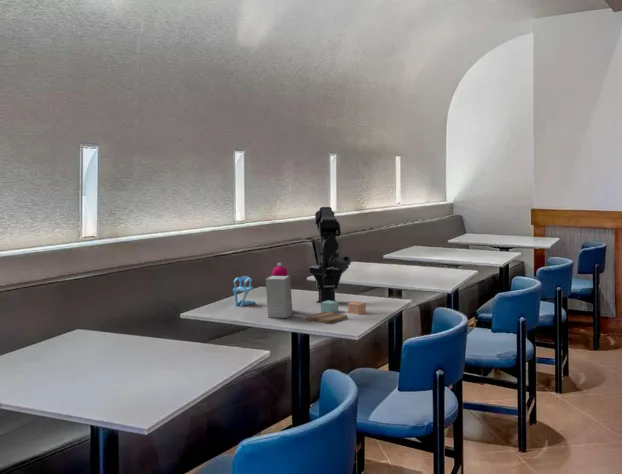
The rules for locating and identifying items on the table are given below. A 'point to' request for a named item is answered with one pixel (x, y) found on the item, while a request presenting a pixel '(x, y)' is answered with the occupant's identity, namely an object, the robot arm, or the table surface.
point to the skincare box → (279, 296)
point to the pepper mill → (279, 270)
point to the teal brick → (329, 306)
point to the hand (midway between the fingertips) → (329, 288)
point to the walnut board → (327, 317)
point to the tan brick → (356, 307)
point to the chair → (243, 289)
